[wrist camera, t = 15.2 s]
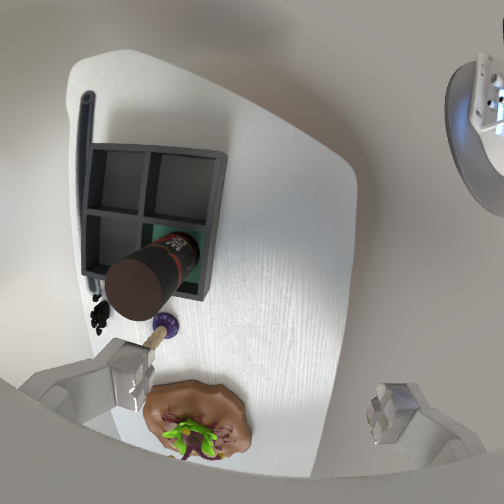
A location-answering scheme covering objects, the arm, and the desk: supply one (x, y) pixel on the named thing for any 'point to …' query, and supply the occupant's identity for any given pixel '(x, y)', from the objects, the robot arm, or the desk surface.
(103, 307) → the wireless earbuds
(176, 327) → the toy lamp
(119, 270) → the deodorant
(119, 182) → the compartment tray
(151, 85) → the desk surface
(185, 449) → the plant
